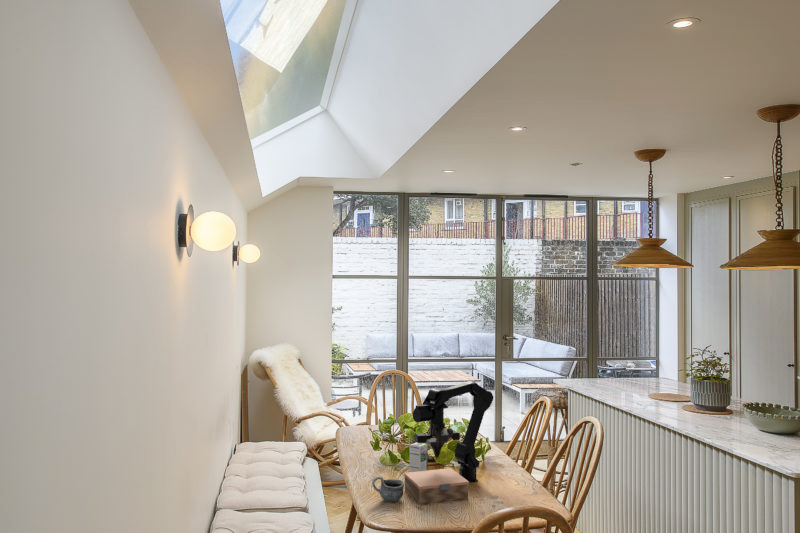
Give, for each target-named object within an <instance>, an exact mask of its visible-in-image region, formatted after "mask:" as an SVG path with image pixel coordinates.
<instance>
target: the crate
mask: <svg viewBox="0 0 800 533" xmlns="http://www.w3.org/2000/svg"><path fill="white" fill-rule="evenodd" d="M404 491H405V492H406V493H407V494H408V495H409V497H410V498H412V500H414V501H415V502H416V504H418V505H419V506H427V505H435V504H436V503H437V504H446V503H453V502H461V501H469V484H466V485H457V486H450V489H446V490H440V487H439V488H430V489H419V488H417V487H416V486H415V485H414V484H413V483H412V482H411V481H410V480H409V479H408V478H407V477H406V476H405V475H404ZM445 502H446V503H445Z"/></svg>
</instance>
